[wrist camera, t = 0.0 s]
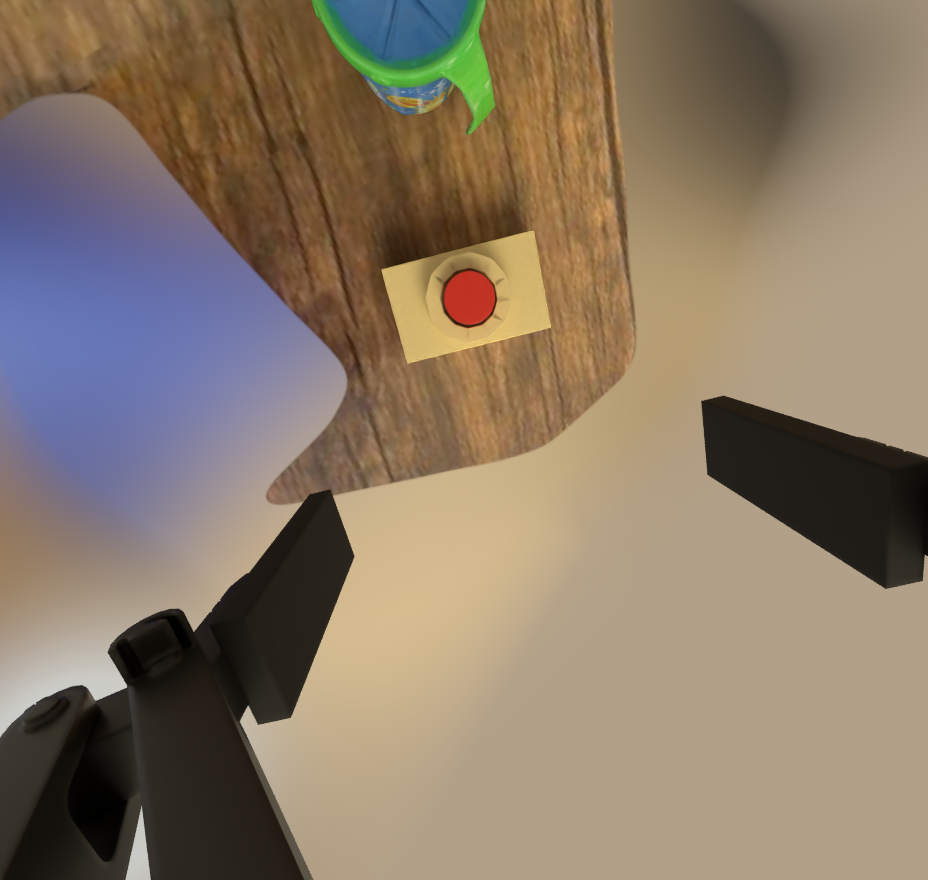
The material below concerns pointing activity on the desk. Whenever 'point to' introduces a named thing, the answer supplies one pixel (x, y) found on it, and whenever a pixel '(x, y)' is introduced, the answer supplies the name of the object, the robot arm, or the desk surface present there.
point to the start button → (469, 297)
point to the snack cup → (414, 50)
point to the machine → (423, 290)
